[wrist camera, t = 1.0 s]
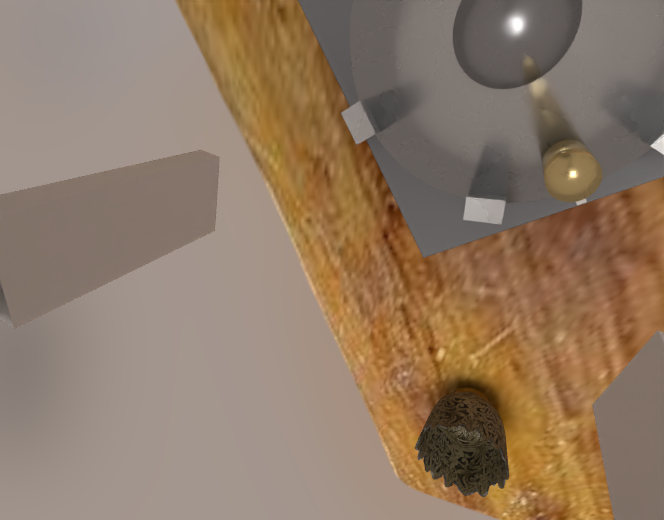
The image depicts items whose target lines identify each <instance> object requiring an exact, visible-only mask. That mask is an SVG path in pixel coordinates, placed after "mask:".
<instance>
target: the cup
mask: <svg viewBox="0 0 664 520" xmlns="http://www.w3.org/2000/svg"><path fill="white" fill-rule="evenodd" d="M415 449H416V450H419V453H418V460H420V459H423V458H424V465H425V471H426V472H428V471H429V470H431V474H432V478H433V479H438V478H440V477H442V475H444V477H443V478H444V479H445V487H450V486H452V485H453V484H455V485H456V486H457V487H458V489H459V491H460V492H461V493H462V494H463V495H465V496H467V495H471V494H473V493H475V492H478V493H479V495H480V496H482V497H485V496H486V495H487V494H488V490H489V486H490V485H493V486H495V485H496V483H498V486H499V488H501V489H503V488H504V485H505V480H508V479H509V468H508V459H507V447H506V437H505V431H504V426H503V423H502V420H501V418H500V416H499V414H498V412H497V411H496V409H495V408H494V407H493V406H492V405H491V404H490V401H489V399H488V397H487V396H486V394H485V393H484V392H482V391H481V390H480V389H478V388H475V387H472V386H463V387H460V388H458V389H457V390H455V391H454V393H451V394H448V395H446V396H444V397H443V398H442V399H440V400H439V401H438V403H437V404H436V405H435V406H434V408H433V410H432V412H431V413H430V415H429V417H428V419H427V421H426V424H425V426H424V428H423V430H422V432H421V434H420V436H419V438H418V441H417V443H416V446H415ZM452 483H453V484H452Z"/></svg>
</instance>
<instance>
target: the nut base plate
mask: <svg viewBox="0 0 664 520" xmlns="http://www.w3.org/2000/svg"><path fill="white" fill-rule="evenodd" d="M298 1H299V3H300V5H301V7H302V9H303V11H304V13H305V15H306V17H307V19H308V21H309V24H310V26H311V28H312V30H313V32H314V34H315V36H316V38H317V40H318V42H319V44H320V46H321V48H322V50H323V52H324V54H325V56H326V58H327V60H328V63H329V65H330V67H331V69H332V71H333V73H334V75H335V77H336V79H337V81H338V83H339V85H340V87H341V89H342V91H343V93H344V95H345V97H346V99H347V102H348V104H349V106H350V107H351V106H352V105H354V104H355V103H357V102H359V98H358V95H357V91H356V87H355V84H354V79H353V73H352V66H351V57H350V24H351V12H352V6H353V0H298ZM366 141H367V143H368V145H369V147H370V149H371V151H372V153H373V155H374V157H375V159H376V161H377V163H378V165H379V167H380V169H381V171H382V173H383V175H384V178H385V180H386V182H387V184H388V186H389V188H390V190H391V192H392V194H393V196H394V198H395V200H396V202H397V204H398V206H399V208H400V210H401V212H402V214H403V217H404V219H405V221H406V223H407V225H408V227H409V229H410V231H411V233H412V235H413V237H414V239H415V241H416V243H417V245H418V247H419V249H420V251H421V254H422V256H423V258H424V257H427V256H430V255H433V254H436V253H439V252H442V251H445V250H448V249H451V248H454V247H457V246H460V245H463V244H466V243H469V242H472V241H475V240H477V239H480V238H483V237H486V236H489V235H492V234H495V233H498V232H501V231H504V230H507V229H510V228H513V227H516V226H519V225H522V224H525V223H528V222H531V221H534V220H537V219H540V218H543V217H546V216H549V215H552V214H555V213H558V212H561V211H564V210H566V209H569V208H572V207H575V206H578V205H581V204H584V203H587V202H590V201H593V200H596V199H599V198H602V197H605V196H608V195H611V194H614V193H617V192H620V191H623V190H626V189H629V188H632V187H635V186H638V185H641V184H644V183H647V182H650V181H653V180H655V179H658V178H661V177H664V155H663V154H662V153H660V152H659V151H657V150H656V149H654V148H652V149H650V150H649V151H647V152H646V153H645V154H643V155H642V156H640V157H639V158H637V159H636V160H634V161H633V162H631V163H630V164H629V165H627V166H625V167H624V168H622V169H620V170H618V171H616V172H614V173H613V174H611V175H609V176H607V177H605V178H603V179H602V181H601V183H600V185H599V187H598V189H597V190H596V191H595V192H594V193H593V194H592V195H590V196H589V197H587V198H585V199H583V200H580V201H576V202H563V201H560V200H557V199H555V198H554V197H551V198H545V199H540V200H534V201H528V202H514V203H505V208H504V213H503V218H502V224H493V223H485V222H477V221H469V220H463V217H464V210H465V203H466V199H465V198H462V197H459V196H455V195H452V194H448V193H446V192H444V191H441V190H439V189H437V188H434V187H432V186H430V185H428V184H427V183H425V182H423V181H422V180H420V179H418V178H417V177H415V176H414V175H412V174H411V173H410V172H409V171H407V170H406V169H405V168H404V167H402V166H401V165H400V164H399V163H398V162H397V161H396V160H395V159H394V158H393V157H392V156H391V155H390V154H389V153H388V152H387V150H386V149H385V148H384V146H383V145H382V144H381V142H380V141H379V140H378V138H377V137H376V135H374V136H373V137H371V138H369V139H367V140H366Z"/></svg>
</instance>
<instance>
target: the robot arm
mask: <svg viewBox="0 0 664 520" xmlns="http://www.w3.org/2000/svg"><path fill="white" fill-rule="evenodd" d="M218 173H219V157H217V156H215V155H212V154H210V153H208V152H205V151H202V150H199V151H194V152H190V153H185V154H181V155H176V156H172V157H167V158H163V159H158V160H154V161H149V162H145V163H140V164H136V165H131V166H127V167H123V168H118V169H113V170H109V171H104V172H100V173H95V174H91V175H87V176H82V177H77V178H73V179H69V180H64V181H60V182H55V183H51V184H47V185H42V186H37V187H33V188H28V189H24V190H19V191H15V192H10V193H6V194H1V195H0V320H2V321H3V322H5V323H6V324H8V325H9V326H11V327H12V328H17V327H18V326H21V325H23V324H25V323H27V322H29V321H31V320H33V319H35V318H37V317H39V316H41V315H43V314H45V313H47V312H49V311H51V310H53V309H55V308H58V307H60V306H61V305H64V304H66V303H68V302H70V301H72V300H74V299H75V298H78V297H80V296H82V295H84V294H86V293H88V292H90V291H92V290H94V289H96V288H98V287H100V286H102V285H104V284H107V283H108V282H111V281H113V280H115V279H117V278H119V277H121V276H123V275H125V274H127V273H129V272H131V271H133V270H135V269H137V268H139V267H141V266H143V265H145V264H148V263H149V262H151V261H154V260H156V259H158V258H160V257H162V256H164V255H166V254H168V253H170V252H172V251H174V250H176V249H178V248H180V247H182V246H184V245H186V244H188V243H190V242H193V241H194V240H197V239H199V238H201V237H203V236H205V235H207V234H209V233H211V232H213V231H215V221H216V205H217V189H218ZM593 410H594V416H595V421H596V426H597V431H598V437H599V442H600V447H601V452H602V458H603V463H604V468H605V473H606V479H607V484H608V489H609V494H610V500H611V505H612V510H613V515H614V520H664V332H661V331H658V330H657V332H656V333H655V334H654V335H653V336H652V337H651V338H650V340H649V341H648V342H647V343H646V344H645V345H644V346H643V348H642V349H641V350H640V351H639V352H638V353H637V354H636V356H635V357H634V358H633V359H632V360H631V361H630V362H629V364H628V365H627V366H626V367H625V368H624V369H623V370H622V372H621V373H620V374H619V375H618V376H617V377H616V378H615V380H614V381H613V382H612V383H611V384H610V385H609V386H608V388H607V389H606V390H605V391H604V392H603V393H602V394H601V396H600V397H599V398H598V399H597V400H596V401H595V402H594V404H593Z"/></svg>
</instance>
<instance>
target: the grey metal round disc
mask: <svg viewBox="0 0 664 520" xmlns="http://www.w3.org/2000/svg"><path fill="white" fill-rule="evenodd" d="M350 57H351V66H352V73H353V79H354V84H355V87H356V91H357V95H358V98H359V102H357V103H355V104H354V105H352V106H351V107H349V108H348V109H346V110H345V111H343V112H342V113H341V114H342V116H343V118H344V120H345V122H346V124H347V126H348V128H349V130H350V132H351V134H352V137H353V139H354V141H355V143H356V145H357V144H360V143H362V142H364V141H366V140H367V139H369V138H371V137H373V136H374V135H376V137H377V138H378V140H379V141H380V142H381V144H382V145H383V146H384V148H385V149H386V150H387V152H388V153H389V154H390V155H391V156H392V157H393V158H394V159H395V160H396V161H397V162H398V163H399V164H400V165H401V166H402V167H404V168H405V169H406V170H407V171H409V172H410V173H411V174H412V175H414V176H415V177H417V178H418V179H420V180H422V181H423V182H425V183H427V184H428V185H430V186H432V187H434V188H437V189H439V190H441V191H444V192H446V193H448V194H452V195H455V196H459V197H462V198H465V199H466V203H465V210H464V217H463V220H469V221H477V222H485V223H493V224H502V218H503V213H504V208H505V203H514V202H528V201H534V200H540V199H545V198H551V197H554V198H555V199H557V200H560V201H563V202H576V201H580V200H583V199H585V198H587V197H589V196H590V195H592V194H593V193H594V192H595V191H596V190H597V189H598V187H599V185H600V183H601V181H602V179H603V178H605V177H607V176H609V175H611V174H613V173H614V172H616V171H618V170H620V169H622V168H624V167H625V166H627V165H629V164H630V163H631V162H633V161H634V160H636V159H637V158H639V157H640V156H642V155H643V154H645V153H646V152H647V151H649V150H650V149H652V148H654V149H656V150H657V151H659V152H660V153H662V154H663V155H664V0H353V6H352V12H351V24H350Z"/></svg>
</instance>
